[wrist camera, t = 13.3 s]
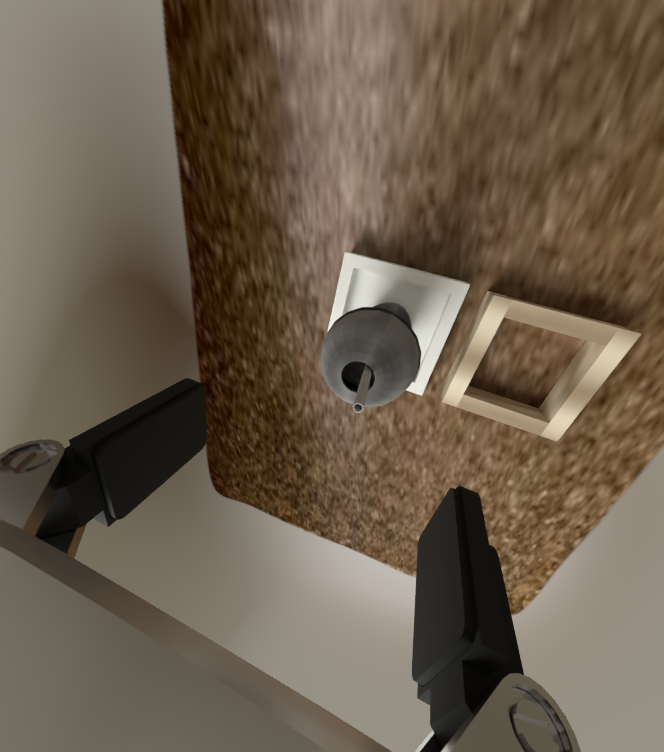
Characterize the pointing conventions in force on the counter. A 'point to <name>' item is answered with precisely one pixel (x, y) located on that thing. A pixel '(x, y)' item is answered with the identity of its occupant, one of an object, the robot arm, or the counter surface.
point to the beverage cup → (371, 355)
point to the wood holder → (572, 387)
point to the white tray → (403, 302)
